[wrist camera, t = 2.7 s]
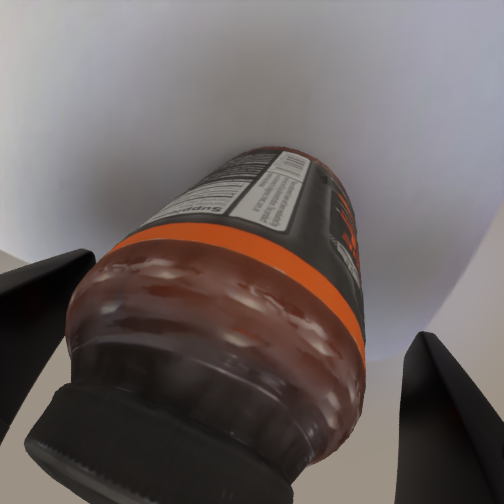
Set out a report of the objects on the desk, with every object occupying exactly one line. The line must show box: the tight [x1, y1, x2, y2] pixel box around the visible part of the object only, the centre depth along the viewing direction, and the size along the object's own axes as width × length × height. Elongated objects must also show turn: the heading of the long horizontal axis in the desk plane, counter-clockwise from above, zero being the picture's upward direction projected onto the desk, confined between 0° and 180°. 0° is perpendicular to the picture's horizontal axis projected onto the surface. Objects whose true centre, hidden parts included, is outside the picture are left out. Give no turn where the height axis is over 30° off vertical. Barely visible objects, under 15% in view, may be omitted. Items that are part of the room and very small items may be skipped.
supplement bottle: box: [24, 147, 366, 504], centre depth 8 cm, size 6×6×11 cm
